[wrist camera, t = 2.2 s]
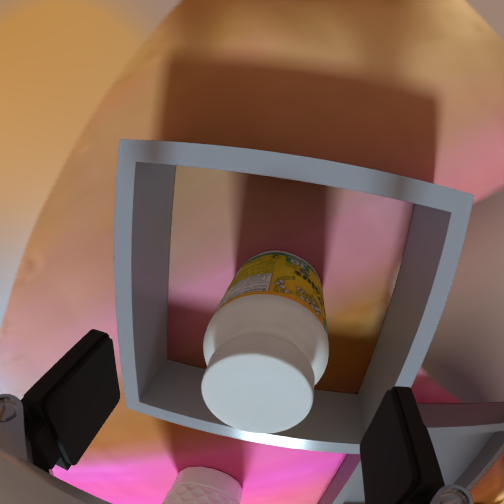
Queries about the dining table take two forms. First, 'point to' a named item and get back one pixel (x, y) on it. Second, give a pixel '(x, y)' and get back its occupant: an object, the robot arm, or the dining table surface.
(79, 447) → the robot arm
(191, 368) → the gray square frame
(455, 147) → the dining table surface
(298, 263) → the supplement bottle
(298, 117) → the dining table surface
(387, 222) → the dining table surface
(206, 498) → the white cup
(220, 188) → the dining table surface
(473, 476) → the tray
